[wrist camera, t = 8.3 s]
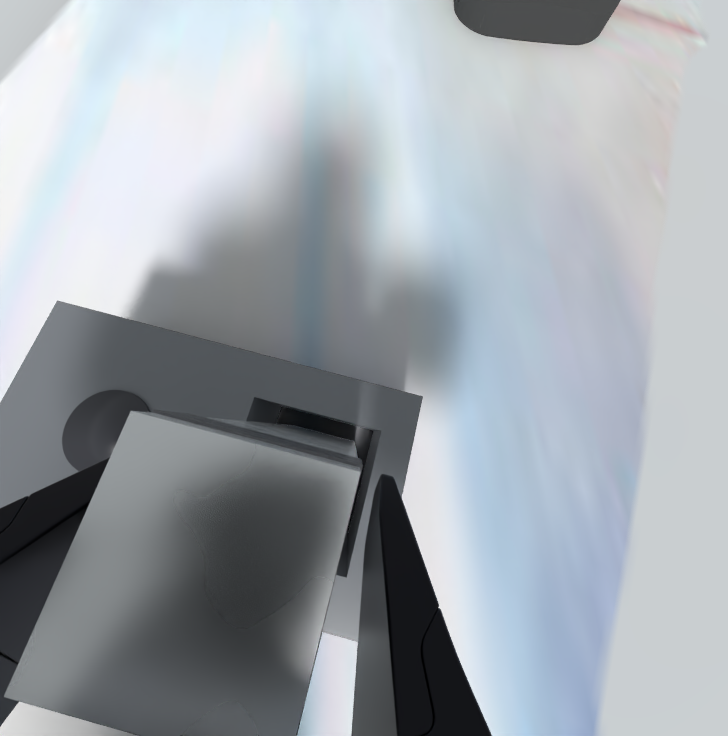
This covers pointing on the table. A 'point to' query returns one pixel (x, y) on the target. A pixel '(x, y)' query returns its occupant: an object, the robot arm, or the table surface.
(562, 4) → the media streaming box
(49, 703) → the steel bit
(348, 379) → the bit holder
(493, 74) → the table surface
